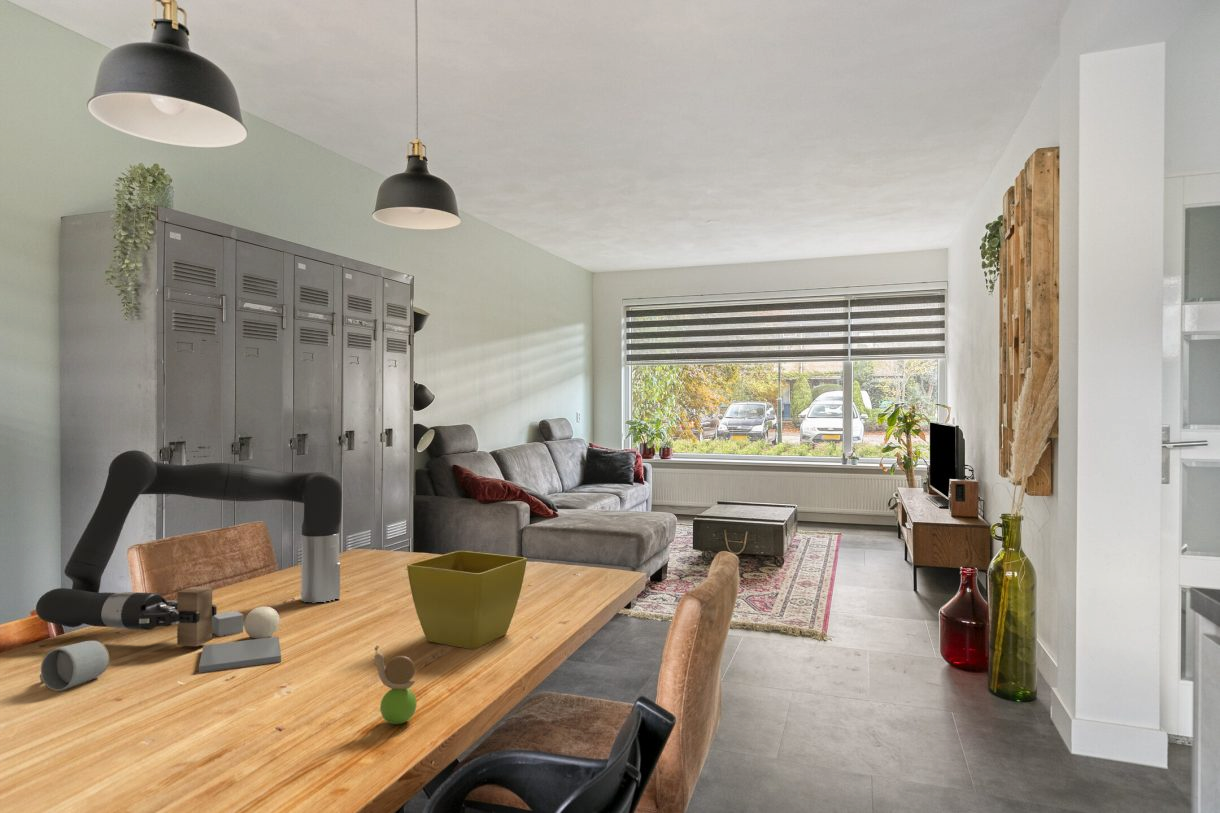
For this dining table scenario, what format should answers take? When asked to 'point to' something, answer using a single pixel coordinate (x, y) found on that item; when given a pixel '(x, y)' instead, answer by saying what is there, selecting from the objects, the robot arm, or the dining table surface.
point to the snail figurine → (397, 688)
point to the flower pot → (466, 596)
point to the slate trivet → (240, 654)
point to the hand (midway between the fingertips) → (206, 613)
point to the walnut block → (202, 603)
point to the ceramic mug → (73, 664)
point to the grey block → (227, 623)
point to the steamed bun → (261, 622)
